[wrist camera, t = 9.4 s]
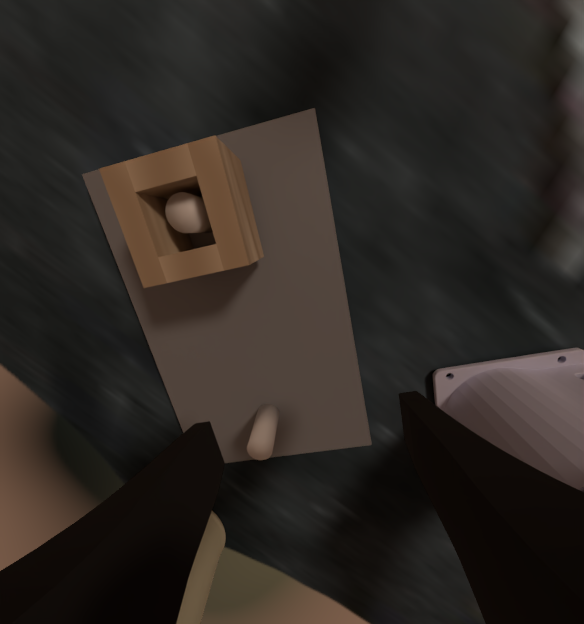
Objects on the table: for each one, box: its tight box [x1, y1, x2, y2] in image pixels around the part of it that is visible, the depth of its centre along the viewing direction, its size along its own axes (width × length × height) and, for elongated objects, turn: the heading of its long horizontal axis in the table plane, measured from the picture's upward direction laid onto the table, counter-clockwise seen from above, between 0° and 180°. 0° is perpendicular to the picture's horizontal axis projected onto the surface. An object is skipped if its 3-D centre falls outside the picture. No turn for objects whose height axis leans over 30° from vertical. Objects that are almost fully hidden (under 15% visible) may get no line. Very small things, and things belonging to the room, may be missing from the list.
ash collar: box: [99, 136, 264, 288], centre depth 14 cm, size 5×5×4 cm
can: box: [176, 511, 226, 624], centre depth 20 cm, size 9×9×12 cm
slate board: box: [82, 108, 372, 463], centre depth 17 cm, size 14×22×5 cm, turn 12°
